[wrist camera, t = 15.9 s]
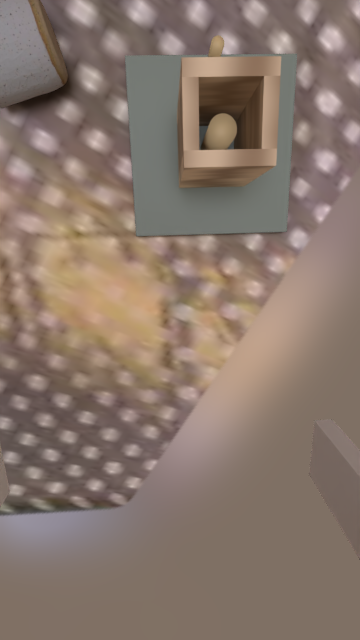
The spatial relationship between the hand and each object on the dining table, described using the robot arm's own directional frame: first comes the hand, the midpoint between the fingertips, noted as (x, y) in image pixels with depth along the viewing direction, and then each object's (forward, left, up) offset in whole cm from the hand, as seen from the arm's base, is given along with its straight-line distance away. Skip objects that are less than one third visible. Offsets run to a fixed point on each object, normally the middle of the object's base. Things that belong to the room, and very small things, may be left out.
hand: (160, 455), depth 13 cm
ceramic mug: (-14, +28, -29) cm, 42 cm away
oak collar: (+6, +18, -27) cm, 33 cm away
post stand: (+6, +18, -29) cm, 34 cm away
